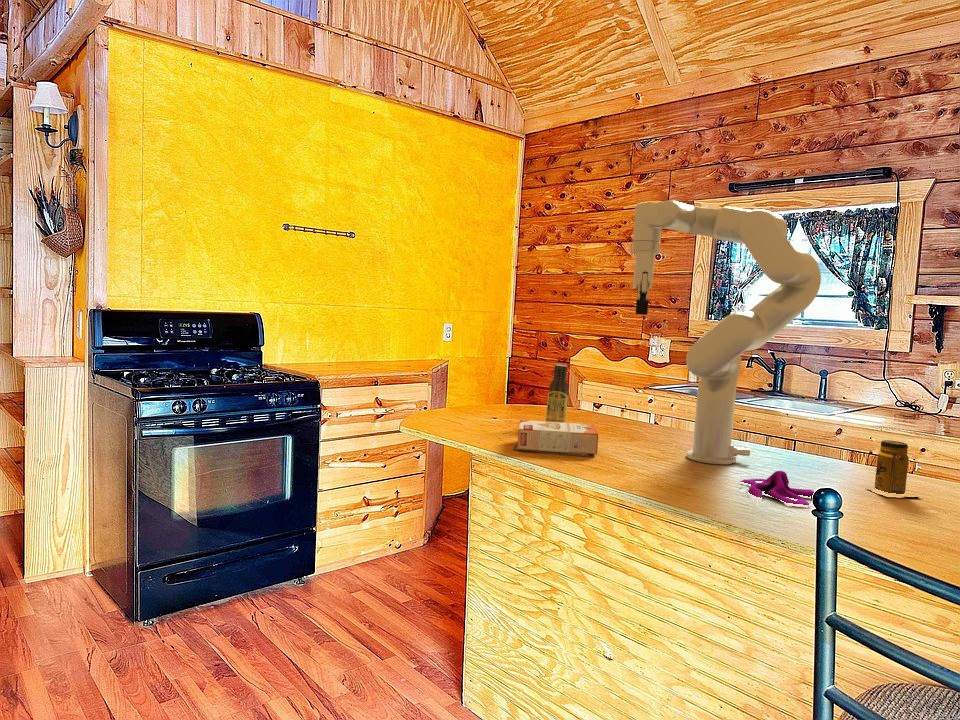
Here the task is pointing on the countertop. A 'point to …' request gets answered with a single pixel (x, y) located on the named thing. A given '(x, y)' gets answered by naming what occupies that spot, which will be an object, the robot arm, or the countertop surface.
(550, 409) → the sauce bottle
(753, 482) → the cloth
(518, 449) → the mat
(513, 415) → the countertop surface
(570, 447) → the cracker box
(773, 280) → the robot arm
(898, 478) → the condiment
